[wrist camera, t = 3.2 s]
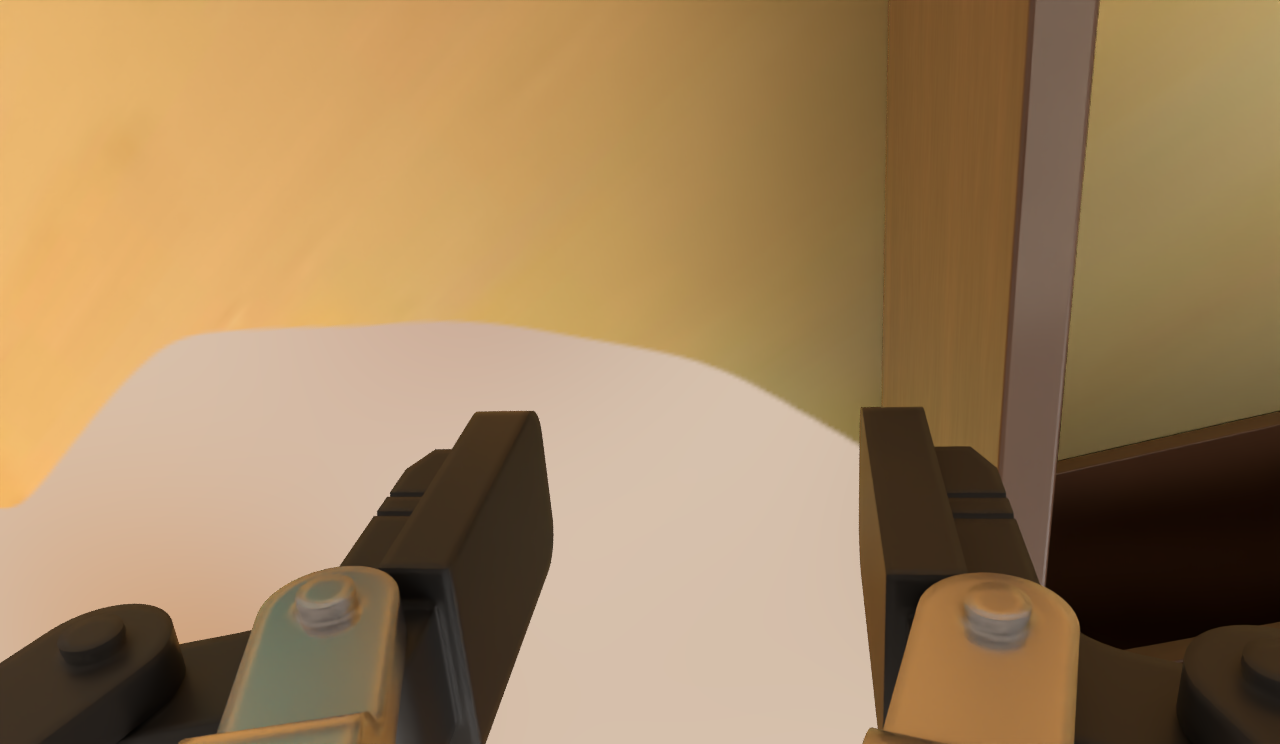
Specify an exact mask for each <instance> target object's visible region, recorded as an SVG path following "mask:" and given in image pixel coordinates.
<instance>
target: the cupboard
mask: <svg viewBox="0 0 1280 744" xmlns="http://www.w3.org/2000/svg"><path fill="white" fill-rule="evenodd" d="M1046 588H1048V589H1049V590H1051V591H1053V592H1054V593H1056V594H1057V595H1059V596H1060V597H1061V598H1063V599H1064V600H1065V601H1066V602H1067V603H1068V604H1069V605H1070V606H1071V608H1072V609H1073V611H1074V612H1075V614H1076V616H1077V618H1078V621H1079V627H1080V632H1081V633H1082V634H1084V635H1086V636H1088V637H1090V638H1092V639H1094V640H1096V641H1099V642H1101V643H1103V644H1106V645H1109V646H1112V647H1115V648H1117V649H1121V650H1125V651H1129V652H1132V653H1137V654H1141V655H1146V656H1150V657H1155V658H1159V659H1164V660H1169V661H1173V662H1178V663H1182V664H1183V660H1184V655H1185V651H1186V648H1187V647H1188V645H1189V644H1190V642H1191V641H1192V640H1193V639H1194V638H1196V637H1197V636H1198V635H1200V634H1202V633H1204V632H1206V631H1208V630H1211V629H1215V628H1219V627H1224V626H1231V625H1256V626H1266V627H1272V628H1278V629H1280V411H1278V412H1274V413H1270V414H1265V415H1261V416H1256V417H1252V418H1247V419H1243V420H1238V421H1234V422H1230V423H1225V424H1221V425H1216V426H1212V427H1207V428H1203V429H1199V430H1194V431H1190V432H1185V433H1181V434H1176V435H1172V436H1167V437H1163V438H1159V439H1154V440H1150V441H1145V442H1141V443H1136V444H1132V445H1128V446H1123V447H1119V448H1114V449H1110V450H1105V451H1101V452H1096V453H1092V454H1088V455H1083V456H1079V457H1074V458H1070V459H1065V460H1061V461H1057V470H1056V481H1055V492H1054V502H1053V513H1052V524H1051V535H1050V546H1049V557H1048V567H1047V578H1046Z"/></svg>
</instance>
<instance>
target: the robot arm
mask: <svg viewBox="0 0 1280 744" xmlns="http://www.w3.org/2000/svg"><path fill="white" fill-rule="evenodd" d="M859 459H860V460H859V462H860V463H859V466H860V467H859V545H860V565H861V577H862V586H863V595H864V605H865V614H866V624H867V632H868V642H869V651H870V660H871V670H872V679H873V687H874V698H875V707H876V716H877V725H878V729H876V728H870V729H869V730H868V732H867V733H866V736H865V738H864V741H863V744H1280V629H1278V628H1272V627H1266V626H1256V625H1231V626H1224V627H1219V628H1215V629H1211V630H1208V631H1206V632H1204V633H1202V634H1200V635H1198V636H1197V637H1196V638H1194V639H1193V640H1192V641H1191V642H1190V644H1189V645H1188V647H1187V648H1186V651H1185V655H1184V660H1183V664H1182V663H1178V662H1173V661H1169V660H1164V659H1159V658H1155V657H1150V656H1146V655H1141V654H1137V653H1132V652H1129V651H1125V650H1121V649H1117V648H1115V647H1112V646H1109V645H1106V644H1103V643H1101V642H1099V641H1096V640H1094V639H1092V638H1090V637H1088V636H1086V635H1084V634H1082V633H1081V632H1080V627H1079V621H1078V618H1077V616H1076V614H1075V612H1074V611H1073V609H1072V608H1071V606H1070V605H1069V604H1068V603H1067V602H1066V601H1065V600H1064V599H1063V598H1061V597H1060V596H1059V595H1057V594H1056V593H1054V592H1053V591H1051V590H1049V589H1048V588H1046V587H1044V586H1042V585H1040V583H1039V580H1038V577H1037V574H1036V572H1035V569H1034V566H1033V564H1032V561H1031V558H1030V556H1029V553H1028V550H1027V548H1026V545H1025V542H1024V539H1023V537H1022V534H1021V531H1020V529H1019V526H1018V523H1017V521H1016V519H1014V512H1013V510H1012V507H1011V504H1010V502H1009V499H1008V498H1006V491H1005V488H1004V486H1003V483H1002V480H1001V477H1000V475H999V472H998V469H997V467H995V466H994V465H993V464H992V463H990V462H989V461H988V460H987V459H985V458H984V457H983V456H982V455H980V454H979V453H978V452H977V451H976V450H974V449H973V448H972V447H971V446H948V447H934V444H933V440H932V437H931V433H930V429H929V426H928V422H927V418H926V414H925V411H924V408H923V407H861V411H860V458H859ZM552 550H553V518H552V510H551V502H550V494H549V487H548V479H547V471H546V463H545V455H544V447H543V439H542V432H541V426H540V421H539V418H538V416H537V414H536V413H535V412H534V411H489V412H476V413H475V414H474V415H473V416H472V418H471V420H470V421H469V423H468V424H467V426H466V427H465V429H464V431H463V432H462V434H461V435H460V437H459V439H458V440H457V442H456V444H455V445H454V447H453V448H452V449H442V450H441V449H438V450H436V449H435V450H434V451H432V452H431V453H429V454H428V455H427V456H425V457H424V458H422V459H421V460H419V461H418V462H417V463H415V464H413V465H412V466H410V467H409V468H407V469H406V470H405V472H404V473H403V475H402V476H401V477H400V479H399V480H398V482H397V483H396V485H395V486H394V488H393V489H392V491H391V492H390V497H387V498H386V499H385V501H384V502H383V504H382V505H381V507H380V508H379V510H378V511H377V516H374V517H373V518H372V520H371V521H370V523H369V524H368V526H367V527H366V528H365V530H364V531H363V533H362V534H361V536H360V537H359V539H358V540H357V542H356V543H355V545H354V546H353V548H352V549H351V550H350V552H349V553H348V555H347V556H346V558H345V559H344V561H343V562H342V564H341V565H340V566H339V567H334V568H329V569H324V570H321V571H317V572H313V573H311V574H308V575H305V576H303V577H301V578H298V579H296V580H294V581H292V582H290V583H288V584H287V585H285V586H283V587H282V588H280V589H279V590H278V591H276V592H275V593H274V594H272V595H271V596H270V597H269V598H268V599H267V600H266V601H265V603H264V604H263V605H262V607H261V608H260V610H259V612H258V614H257V616H256V619H255V622H254V625H253V628H252V630H250V631H246V632H241V633H237V634H232V635H226V636H221V637H216V638H210V639H205V640H200V641H194V642H189V643H184V644H179V642H178V639H177V636H176V632H175V629H174V626H173V623H172V620H171V618H170V616H169V615H168V614H167V613H166V612H165V611H164V610H162V609H160V608H157V607H155V606H151V605H146V604H123V605H116V606H111V607H106V608H102V609H98V610H95V611H91V612H88V613H85V614H83V615H80V616H78V617H75V618H73V619H71V620H69V621H67V622H65V623H62V624H61V625H59V626H57V627H55V628H54V629H52V630H50V631H49V632H48V633H46V634H44V635H42V636H41V637H39V638H38V639H37V640H35V641H33V642H32V643H30V644H29V645H27V646H26V647H24V648H23V649H21V650H20V651H18V652H17V653H15V654H14V655H12V656H10V657H9V658H7V659H6V660H4V661H3V662H1V663H0V744H485V743H486V741H487V738H488V735H489V733H490V730H491V727H492V724H493V721H494V719H495V716H496V713H497V710H498V708H499V705H500V702H501V699H502V697H503V694H504V691H505V689H506V686H507V683H508V680H509V678H510V675H511V672H512V669H513V667H514V664H515V661H516V658H517V655H518V653H519V650H520V647H521V645H522V642H523V639H524V636H525V634H526V631H527V628H528V626H529V623H530V620H531V617H532V615H533V611H534V609H535V606H536V603H537V601H538V598H539V595H540V593H541V590H542V587H543V584H544V581H545V579H546V576H547V573H548V570H549V567H550V563H551V558H552Z"/></svg>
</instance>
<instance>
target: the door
mask: <svg viewBox="0 0 1280 744" xmlns="http://www.w3.org/2000/svg"><path fill="white" fill-rule="evenodd" d="M1099 4H1100V0H889V5H888V63H887V122H886V180H885V239H884V297H883V355H882V407H923V408H924V411H925V414H926V418H927V422H928V426H929V429H930V433H931V437H932V440H933V444H934V447H948V446H971V447H972V448H973V449H974V450H976V451H977V452H978V453H979V454H980V455H982V456H983V457H984V458H985V459H987V460H988V461H989V462H990V463H992V464H993V465H994V466H995V467H997V469H998V472H999V475H1000V477H1001V480H1002V483H1003V486H1004V488H1005V491H1006V498H1008V499H1009V502H1010V504H1011V507H1012V510H1013V512H1014V519H1016V521H1017V523H1018V526H1019V529H1020V531H1021V534H1022V537H1023V539H1024V542H1025V545H1026V548H1027V550H1028V553H1029V556H1030V558H1031V561H1032V564H1033V566H1034V569H1035V572H1036V574H1037V577H1038V580H1039V583H1040V585H1042V586H1044V587H1046V578H1047V567H1048V557H1049V546H1050V535H1051V524H1052V513H1053V502H1054V492H1055V481H1056V470H1057V459H1058V448H1059V437H1060V427H1061V416H1062V405H1063V394H1064V383H1065V373H1066V362H1067V351H1068V340H1069V329H1070V318H1071V308H1072V297H1073V286H1074V275H1075V264H1076V253H1077V243H1078V232H1079V221H1080V210H1081V199H1082V189H1083V178H1084V167H1085V156H1086V145H1087V134H1088V124H1089V113H1090V102H1091V91H1092V80H1093V69H1094V59H1095V48H1096V37H1097V26H1098V15H1099Z"/></svg>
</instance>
